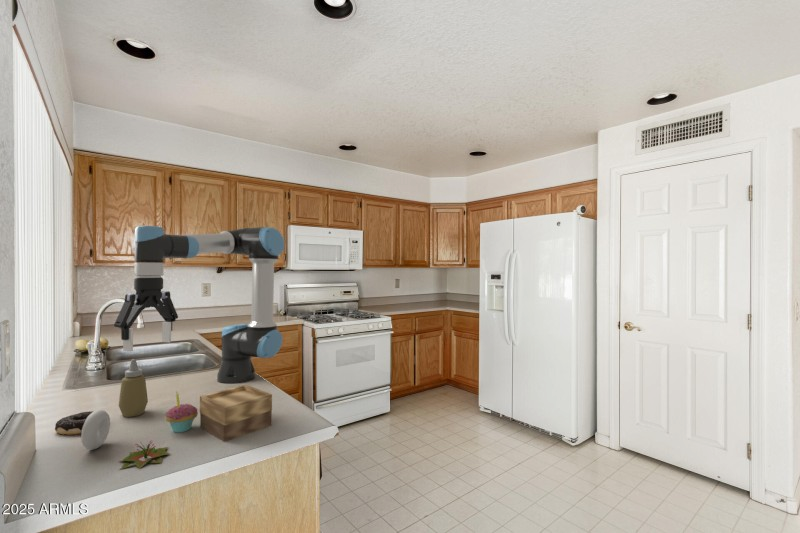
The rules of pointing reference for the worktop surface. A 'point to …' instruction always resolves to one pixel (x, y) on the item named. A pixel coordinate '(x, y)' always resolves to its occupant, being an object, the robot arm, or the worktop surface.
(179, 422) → the cupcake
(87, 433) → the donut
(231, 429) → the tower base
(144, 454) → the lily flower
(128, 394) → the squeeze bottle
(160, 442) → the worktop surface
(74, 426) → the donut
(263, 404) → the tower top
